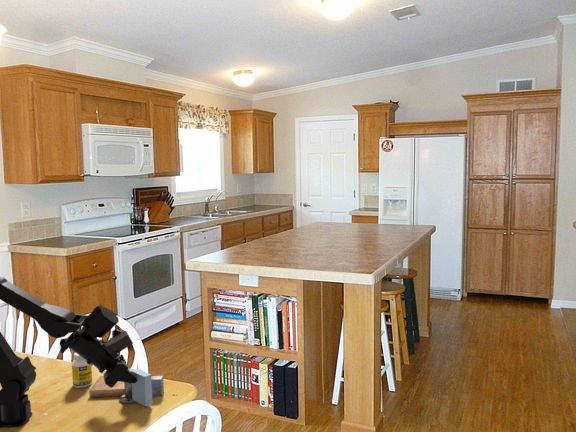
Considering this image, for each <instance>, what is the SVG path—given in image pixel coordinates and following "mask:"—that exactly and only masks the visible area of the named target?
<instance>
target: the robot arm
mask: <svg viewBox="0 0 576 432" xmlns="http://www.w3.org/2000/svg"><path fill="white" fill-rule="evenodd" d="M0 301H2V302H4V303H5V304H7V305H9V306H10V307H13V308H14V309H16V310H17V311H19V312H21V313H23V314H24V315H27V316H28V317H30V318H31V319H32V320H34V321H35V322H36V324H38V325H39V327H40V328H41V330H43V331H44V332H45V333H47V334H48V335H49V336H50V337H52V338H54V339H60V338H61V339H60V341H59V348H60V351H59V352H60V353H61V354H63V353H65V352H66V351H67V350H68V349H70V350H71V351H73V352H74V353H77V354H78V355H80V356H81V357H82V358H84V359H85V360H86V363H88V364H89V365H90V364H91V366H94V368H96V369H97V370H98V372H99V373H101V374H103V376H104V381H105V384H106V385H107V386H109V387H110V388H112V387H113V386H114V385H115V384H116V383H117V382H118V381H120V382H128V383H136V381H137V379H136V378H135V377H134V375H133V374H132V373H131V372H130V371H129V369H130V368H129V365H128V364H127V361H126V358H125V357H124V355H123V354H120V355H119V353H121V352H122V351H124V350H126V349H127V348H130V347H132V346H133V344H134V342H133V340H132V338H131V337H130V335H129V333H128V331H126V330H124V329H122V330H120V329H118V328H115V329H113V328H114V327H115V326H116V325H117V324H118V323H119V322H120V320H119V318H118V316H117V314H116V312H114V311H113V310H112V309H109V308H108V307H106V306H103V305H102V304H100V303H99V304H97V306H96V307H94V308H93V310H92V311H91V312H90V313H89V314H88V315H86V314H78V313H75V312H73V311H72V310H69V309H67V308H64V307H62V306H59V305H55V304H54V305H53V304H49V303H47V302H45V301H43V300H41V299H40V298H38V297H36V296H34V295H32V294H31V293H29V292H27V291H26V290H23V289H22V288H20V286H19V287H18V286H17V285H15V284H14V283H12V282H10V281H8V279H6V278H5V277H3V276H0ZM112 329H113V330H112ZM110 331H111V337H110V338H109V339H108V340H106V341H105V340H104V339H102V338H104V337H105V336H106V335H107V334H109V332H110ZM68 334H70V335H68ZM67 335H68V337H66V336H67ZM64 337H65V338H64ZM98 338H99V339H98ZM36 370H37V367H36V366H35V365H33V363H32V361H31V359H30V357H29V356H25V357H24V358H21V357H20V356H18V355H17V354H16V353H15V352H14V350H13V348H12V347H11V345H10V344H9V343H8V341H7V340H6V338H5V336H4V334H3V333H2V332H1V331H0V387H1V389H0V428H6V427H8V428H9V427H20V426H21V427H22V426H23V425H24V424H25V423H26V422H27V421H28V420H29V419H30V417H32V415H33V412H32V408H31V406H32V405H31V400H29V394H28V393H27V392H28V391H30V387H31V386H32V385H33V384H34V383H35V382H36V379H37V372H36ZM26 393H27V394H26Z"/></svg>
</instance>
